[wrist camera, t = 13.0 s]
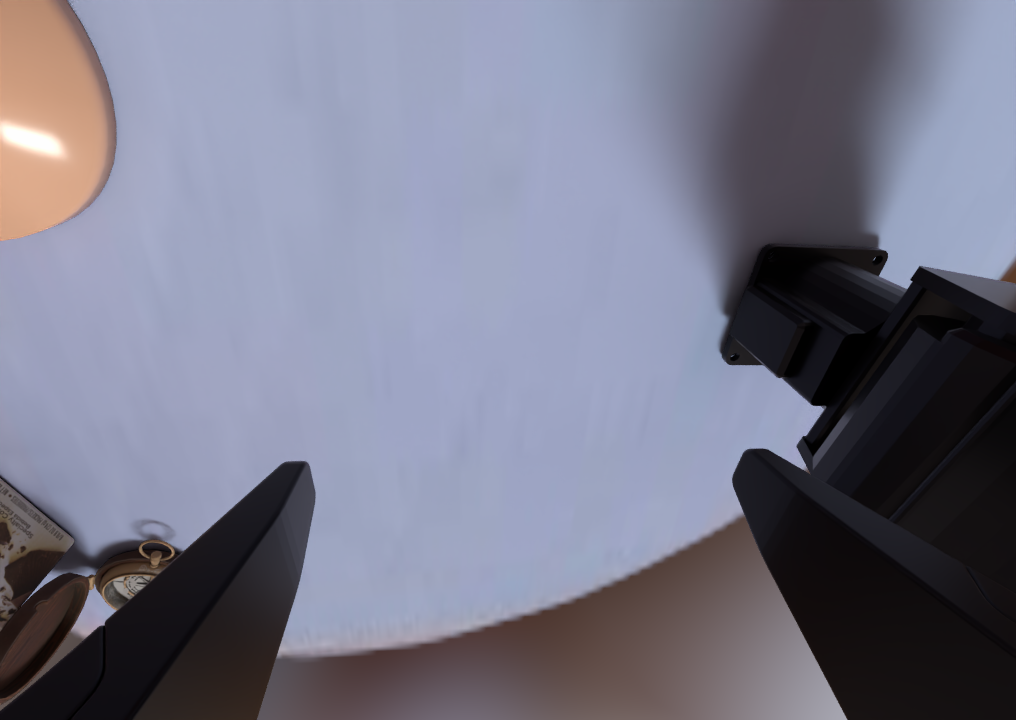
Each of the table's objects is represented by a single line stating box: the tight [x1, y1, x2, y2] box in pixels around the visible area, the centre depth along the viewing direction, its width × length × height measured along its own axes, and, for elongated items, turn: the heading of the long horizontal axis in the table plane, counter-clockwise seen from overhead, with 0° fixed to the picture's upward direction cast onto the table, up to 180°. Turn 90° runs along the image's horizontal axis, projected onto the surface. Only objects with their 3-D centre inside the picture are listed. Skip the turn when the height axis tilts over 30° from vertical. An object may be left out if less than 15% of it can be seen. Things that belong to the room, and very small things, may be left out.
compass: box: [0, 540, 179, 705], centre depth 25 cm, size 8×8×7 cm
